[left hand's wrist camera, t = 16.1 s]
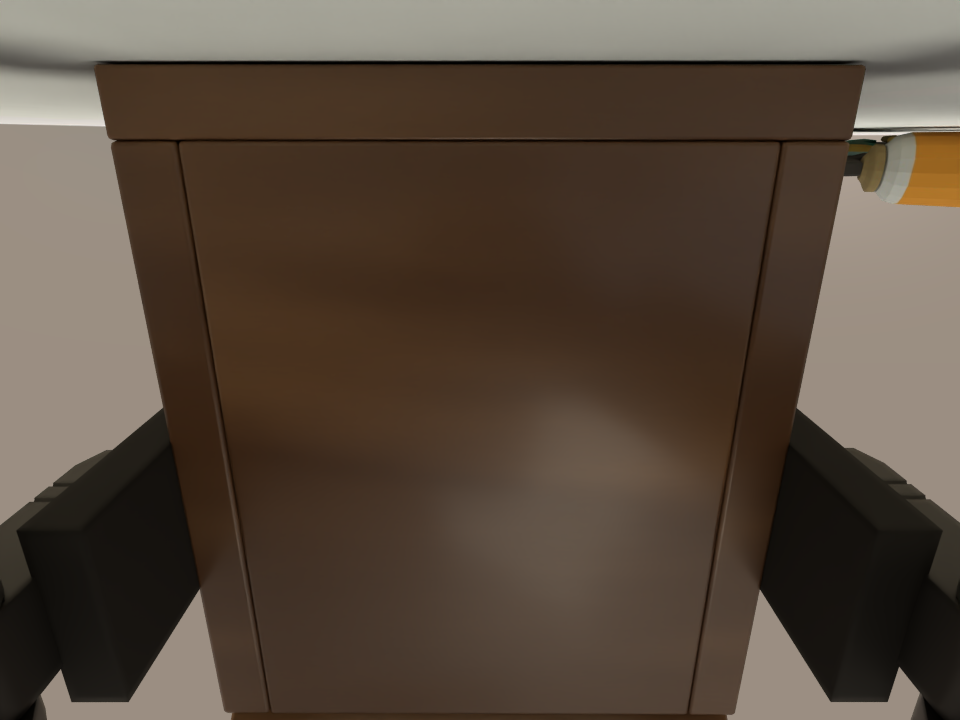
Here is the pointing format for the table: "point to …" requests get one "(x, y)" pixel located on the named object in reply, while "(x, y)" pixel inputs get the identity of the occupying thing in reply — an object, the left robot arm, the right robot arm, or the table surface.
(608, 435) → the chest
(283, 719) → the lid
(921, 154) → the spray gun
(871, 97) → the table surface
